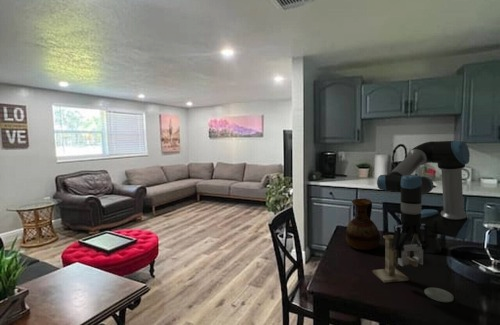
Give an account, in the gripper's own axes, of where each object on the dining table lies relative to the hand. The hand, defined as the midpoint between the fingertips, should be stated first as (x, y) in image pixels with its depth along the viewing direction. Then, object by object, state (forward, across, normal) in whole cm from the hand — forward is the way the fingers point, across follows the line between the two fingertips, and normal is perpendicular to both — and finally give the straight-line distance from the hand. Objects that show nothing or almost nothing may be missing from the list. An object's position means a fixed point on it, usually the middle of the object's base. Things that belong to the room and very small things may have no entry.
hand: (410, 263), depth 116 cm
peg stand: (+13, 0, -8) cm, 15 cm away
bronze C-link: (+3, 0, -7) cm, 8 cm away
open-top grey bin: (-1, 0, 0) cm, 1 cm away
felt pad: (+13, -10, +4) cm, 16 cm away
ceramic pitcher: (+13, -6, -51) cm, 53 cm away
